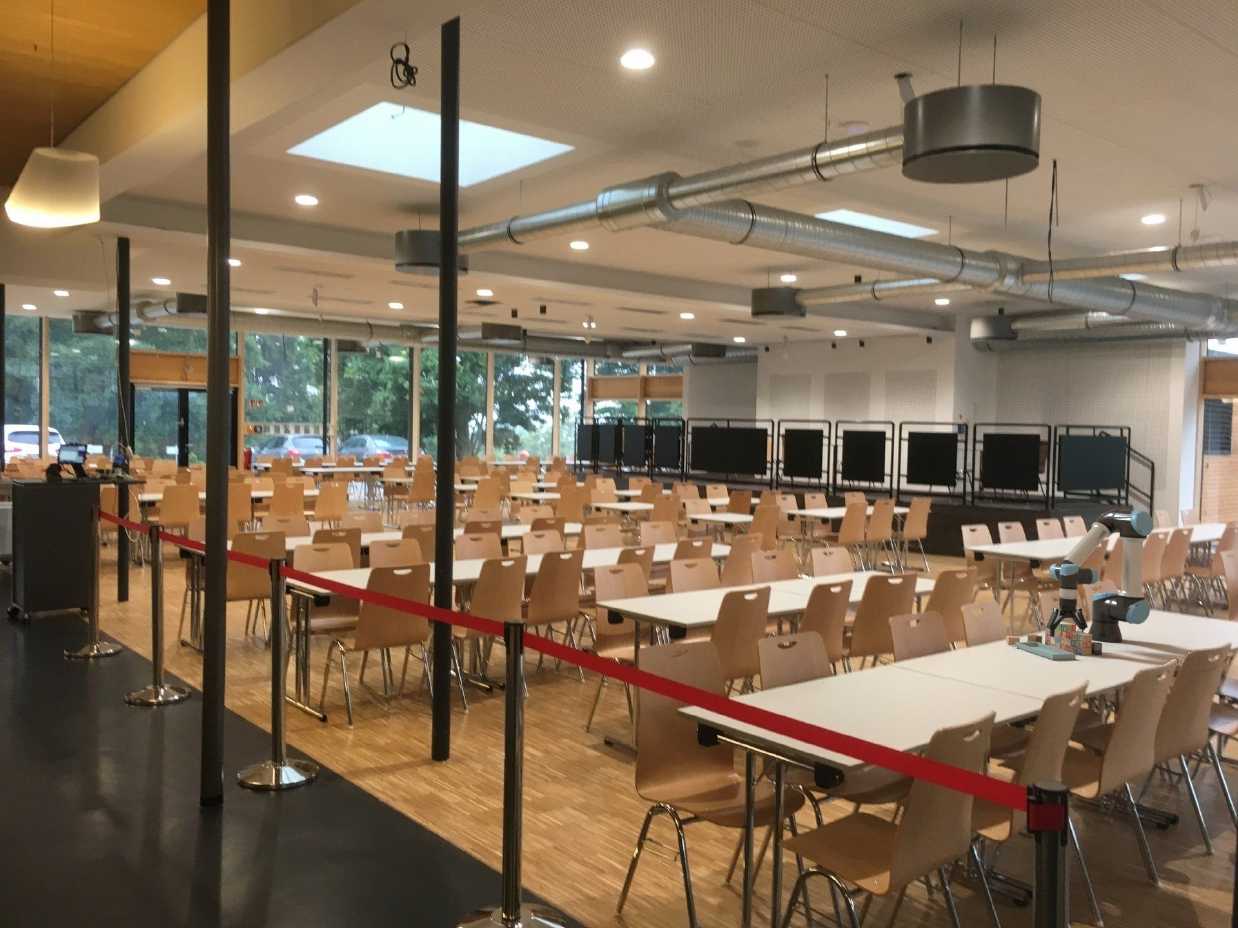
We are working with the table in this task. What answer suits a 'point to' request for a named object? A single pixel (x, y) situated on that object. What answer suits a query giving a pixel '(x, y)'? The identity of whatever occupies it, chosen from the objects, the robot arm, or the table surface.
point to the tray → (1045, 651)
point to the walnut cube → (1034, 638)
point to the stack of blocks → (1070, 639)
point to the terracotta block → (1012, 640)
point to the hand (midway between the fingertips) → (1066, 643)
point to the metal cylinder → (1096, 648)
